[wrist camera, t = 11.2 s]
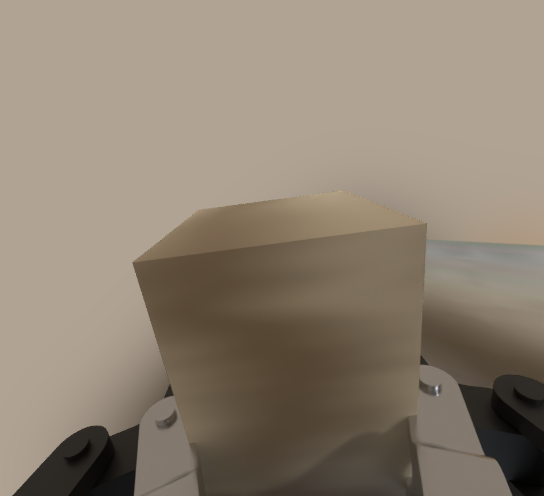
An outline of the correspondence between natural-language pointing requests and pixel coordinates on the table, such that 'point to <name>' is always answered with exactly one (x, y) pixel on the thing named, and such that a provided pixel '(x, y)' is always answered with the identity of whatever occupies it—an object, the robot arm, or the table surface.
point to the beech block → (293, 342)
